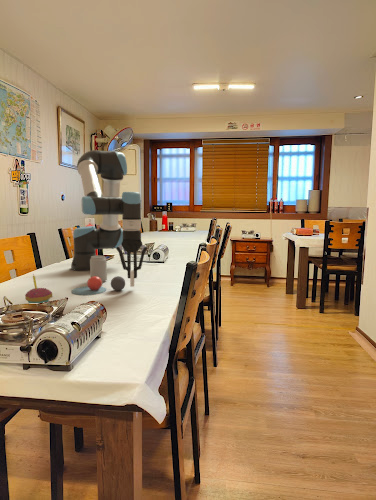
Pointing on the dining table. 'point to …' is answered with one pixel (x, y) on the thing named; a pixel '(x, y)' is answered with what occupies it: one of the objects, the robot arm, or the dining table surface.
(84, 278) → the dining table surface
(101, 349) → the dining table surface
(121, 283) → the dark grey ball
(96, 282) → the object ball
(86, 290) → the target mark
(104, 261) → the can
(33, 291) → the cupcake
